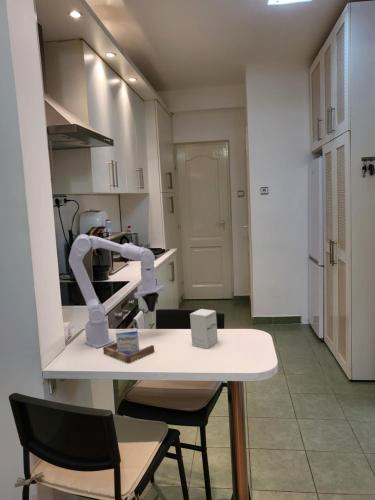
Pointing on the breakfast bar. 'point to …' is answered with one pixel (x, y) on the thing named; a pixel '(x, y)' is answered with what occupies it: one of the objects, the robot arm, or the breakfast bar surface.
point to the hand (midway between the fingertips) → (151, 311)
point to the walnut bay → (112, 352)
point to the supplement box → (203, 328)
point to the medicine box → (127, 340)
